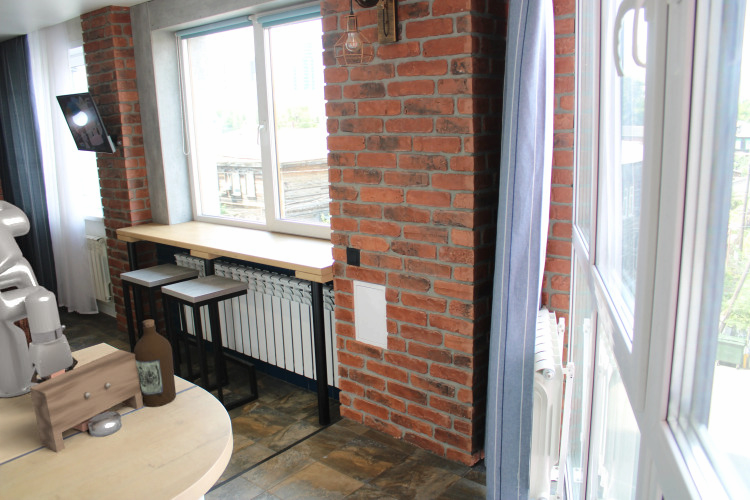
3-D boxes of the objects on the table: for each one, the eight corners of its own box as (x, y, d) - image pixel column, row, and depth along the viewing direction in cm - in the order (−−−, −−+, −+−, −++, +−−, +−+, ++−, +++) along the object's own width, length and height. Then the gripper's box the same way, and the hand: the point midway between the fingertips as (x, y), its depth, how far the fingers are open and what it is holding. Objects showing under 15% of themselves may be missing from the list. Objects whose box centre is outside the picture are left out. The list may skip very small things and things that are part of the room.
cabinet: (41, 445, 150) (29, 387, 146) (128, 400, 172) (119, 349, 168) (59, 453, 146) (47, 394, 142) (145, 406, 168) (137, 354, 164)
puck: (84, 431, 156) (82, 421, 155) (112, 418, 162) (110, 408, 162) (99, 440, 152) (97, 430, 151) (127, 426, 158) (126, 416, 157)
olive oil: (151, 390, 178) (139, 314, 172) (183, 390, 177) (173, 314, 171) (134, 408, 167) (121, 328, 161) (169, 408, 166) (157, 327, 160)
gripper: (67, 322, 171) (78, 379, 175) (9, 343, 157) (21, 403, 161) (82, 326, 167) (92, 384, 171) (23, 348, 153) (36, 410, 157)
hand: (58, 393), depth 166 cm, fingers closed on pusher, 4 cm apart
